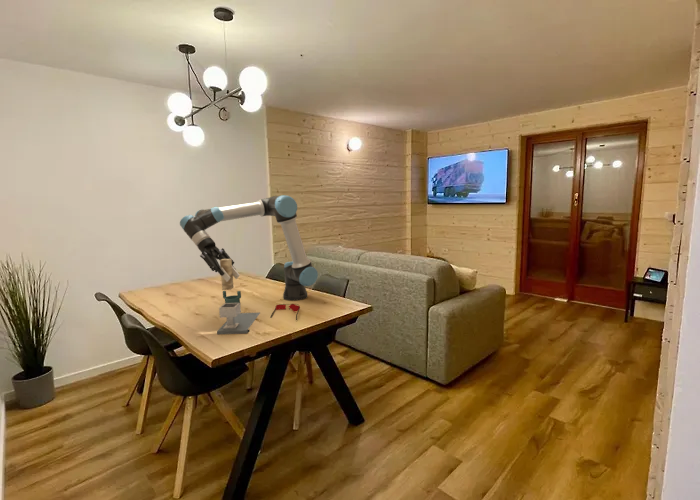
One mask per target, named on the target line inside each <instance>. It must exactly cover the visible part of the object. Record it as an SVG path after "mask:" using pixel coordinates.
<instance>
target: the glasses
mask: <svg viewBox="0 0 700 500" xmlns="http://www.w3.org/2000/svg"><path fill="white" fill-rule="evenodd" d="M287 305H288V310H291V311H293V312H294V311H297V312H296V314H295V315H296V316H295V321H296V320H297V321H298V314H299V311H300V310H301V306H300V305H299V304H298V303H296V304H295V303H286V304H285V303H283V304H282V303H281V304H276V306H275V309H274V310H273V312H272V313H271V315H270V318H272V317H273V315H274V313H275V311H279V310H280V311H281V310H286V309H287V307H286V306H287Z"/></svg>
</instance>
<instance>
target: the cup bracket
mask: <svg viewBox="0 0 700 500" xmlns="http://www.w3.org/2000/svg"><path fill="white" fill-rule="evenodd" d="M218 311H219V313H218V314H219V318H226V321H227V324H226V325H225V326H224V327H223V329H236V328H237V327H238V326H239V324H240V323H235V317H237V316H238V314H239V313H242V311H241V302H240V303H225V302H224V303H223V304H222V305H220V306H219V308H218Z"/></svg>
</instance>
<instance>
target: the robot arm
mask: <svg viewBox="0 0 700 500" xmlns="http://www.w3.org/2000/svg"><path fill="white" fill-rule="evenodd" d="M297 211H298V203H297V201H296V200H295V199H294V198H293V197H291V196H290V195H284V194H283V195H275V196H274V195H273V196H271V197H270V196H269V197H266V198H262V199H257V201H255V202H247V203H241V204H234V205H226V206H221V207H218V206H214V207H211V208H206V209H200V210H199V209H198V210H197V211H196V212H195V215H192V214H188V215H184V216H183V217H182V218H181V219H180V221H179V226H180V227H181V229H182V230H183V231H184V233H185V234H186V235H187V236H188V237H189V238H190V240H191V241H192V242H193V244H194V245H195V246H196V247H197V249H198V250H199V251H200V252H201V254H200V255H199V257H200V258H201V259H203V261H204V262H205V264H206V265H207V266H208V267H209V268H210V270H211V271H212V272H215V273H218V274H219V275H220V277H221V276H222V277H223V278H224V279H225V280H226V282H228V281H229V279H230V278H231V277H230V276H229V275H228V274H227V272H226V271H225V270H224V269H223V267H221V268H220V262H219V261H220V260H222V259H231V260H232V274H233V278H234V279H235V280H237V279H238V278H239V277H240V273H239V272H238V270H237V269H236V268H235V267H234V264H235V261H234V260H233V259H232V258H231V257H230V256H229V254H228V253H227V252H226V251H225V248H221V249H219V247H217V246H216V242H215V241H214V240H213V239H212V237H211V236H210V235H209V233H208V232H207V231H206V230H207V229H209V228H211V227H212V226H215V225H216V224H218V223H221V222H226V221H231V220H237V219H238V220H239V219H245V218H250V217H251V218H252V217H256V216H260V217H271V216H272V217H275V220H276V223H277V224H278V225H280V227H281V229H282V233H283V236H284V239H285V242H286V245H287V249H288V251H289V254H290V257H291V261H286V262H284V264H283V265H284V267H283V271H284V284H285V286H284V290H283V294H282V298H283V300H285V301H292V302H293V301H301V300H305V299H307V298H308V291H307V289H306V287H310V286H312V285H314V284H315V283H316V282H317V280H318V278H319V273H318V270H317V269H316V268H315V267H313V263H312V260H311V259H309V258H308V257H307V254H306V251H305V247H304V244H303V241H302V237H301V233H300V230H299V228H298V223H297V222H296V220H297V218H298V215H297ZM218 260H219V261H218Z"/></svg>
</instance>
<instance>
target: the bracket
mask: <svg viewBox="0 0 700 500" xmlns="http://www.w3.org/2000/svg"><path fill="white" fill-rule="evenodd" d="M236 294H237V295H236ZM236 294H234V295H227V290H222V298H223V299H224V303H240V304H241V300H240V299H241V298H242V293H241V290H237V292H236Z"/></svg>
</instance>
